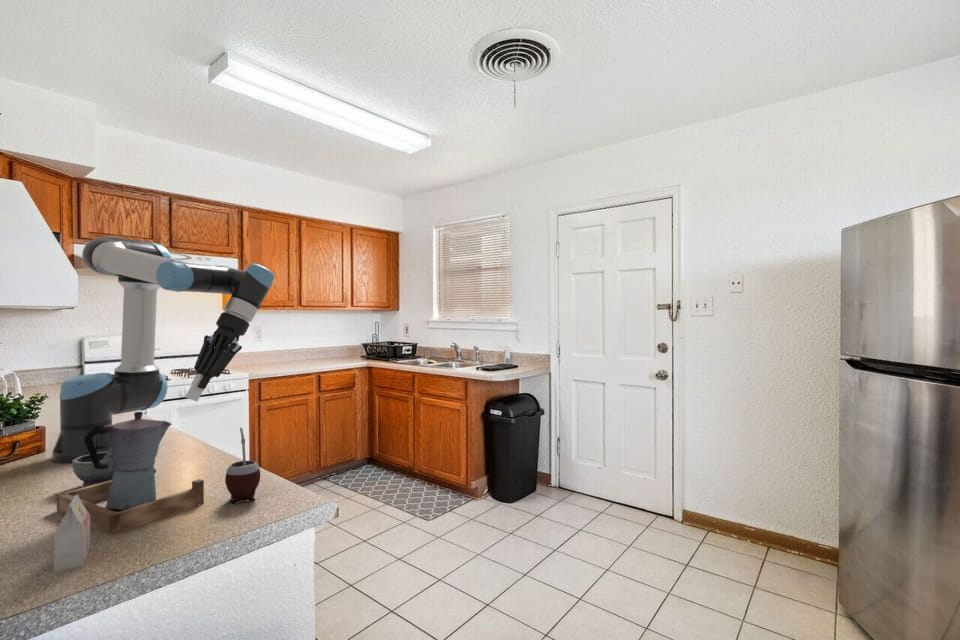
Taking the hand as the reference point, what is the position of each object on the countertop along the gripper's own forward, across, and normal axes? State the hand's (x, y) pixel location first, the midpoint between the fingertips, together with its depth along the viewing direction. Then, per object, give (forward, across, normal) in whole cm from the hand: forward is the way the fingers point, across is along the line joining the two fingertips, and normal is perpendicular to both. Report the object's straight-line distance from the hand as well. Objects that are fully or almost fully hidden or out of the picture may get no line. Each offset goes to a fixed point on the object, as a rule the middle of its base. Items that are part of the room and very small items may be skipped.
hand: (191, 399), depth 120 cm
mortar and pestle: (+25, +10, +2) cm, 27 cm away
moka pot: (+24, -9, +7) cm, 27 cm away
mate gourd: (+16, -27, -4) cm, 32 cm away
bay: (+24, -11, +7) cm, 27 cm away
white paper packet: (+30, -26, +23) cm, 46 cm away
